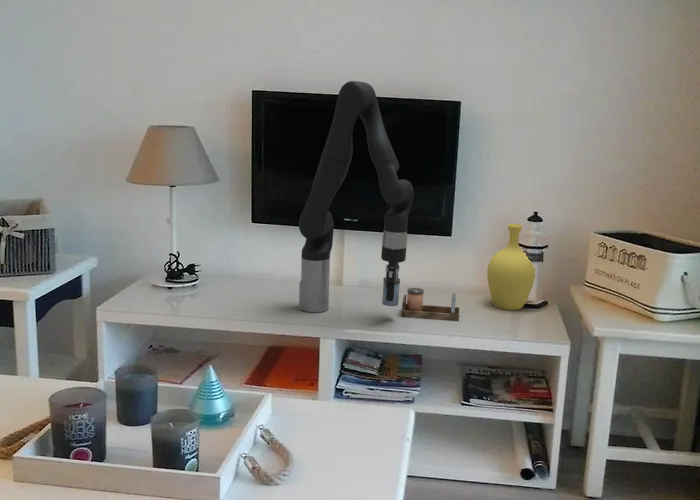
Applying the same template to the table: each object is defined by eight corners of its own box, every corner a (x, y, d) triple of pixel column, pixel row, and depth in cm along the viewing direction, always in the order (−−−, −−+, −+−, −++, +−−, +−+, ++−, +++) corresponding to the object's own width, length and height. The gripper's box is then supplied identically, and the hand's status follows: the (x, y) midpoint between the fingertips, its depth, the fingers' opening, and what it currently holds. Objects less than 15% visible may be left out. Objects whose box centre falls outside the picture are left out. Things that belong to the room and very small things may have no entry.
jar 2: (405, 315, 250) (406, 291, 248) (406, 310, 255) (407, 287, 253) (422, 316, 249) (423, 292, 247) (422, 312, 254) (424, 288, 252)
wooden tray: (401, 319, 249) (402, 301, 247) (403, 312, 257) (404, 294, 255) (458, 323, 246) (459, 305, 245) (458, 316, 254) (459, 298, 253)
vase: (485, 310, 262) (491, 228, 256) (484, 297, 277) (489, 219, 271) (534, 313, 260) (541, 231, 254) (530, 300, 275) (537, 222, 269)
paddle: (450, 318, 248) (451, 297, 246) (450, 313, 253) (452, 292, 252) (454, 318, 247) (455, 298, 246) (454, 313, 253) (455, 293, 252)
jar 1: (380, 305, 242) (382, 280, 240) (382, 300, 247) (384, 276, 245) (397, 307, 241) (399, 281, 239) (399, 302, 246) (400, 277, 244)
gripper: (384, 239, 247) (380, 291, 251) (379, 249, 233) (375, 303, 237) (408, 241, 246) (404, 293, 250) (404, 251, 232) (400, 306, 236)
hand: (390, 298), depth 243 cm, fingers closed on jar 1, 5 cm apart
